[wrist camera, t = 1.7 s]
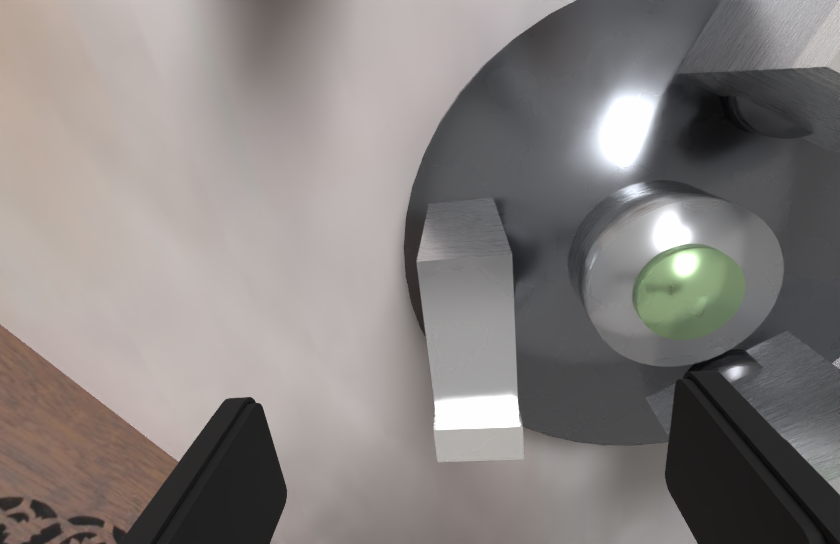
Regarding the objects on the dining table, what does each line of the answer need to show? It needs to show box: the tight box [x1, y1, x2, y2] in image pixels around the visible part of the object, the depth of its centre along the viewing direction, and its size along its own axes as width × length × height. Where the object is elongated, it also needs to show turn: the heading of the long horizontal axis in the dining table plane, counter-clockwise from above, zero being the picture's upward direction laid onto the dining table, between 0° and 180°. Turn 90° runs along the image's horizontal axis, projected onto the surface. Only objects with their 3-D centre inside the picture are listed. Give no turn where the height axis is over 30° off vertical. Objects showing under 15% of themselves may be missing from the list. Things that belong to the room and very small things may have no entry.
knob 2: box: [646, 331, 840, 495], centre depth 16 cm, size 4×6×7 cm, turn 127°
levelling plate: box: [404, 0, 840, 445], centre depth 17 cm, size 19×19×6 cm
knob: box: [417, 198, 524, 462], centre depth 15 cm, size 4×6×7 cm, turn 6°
